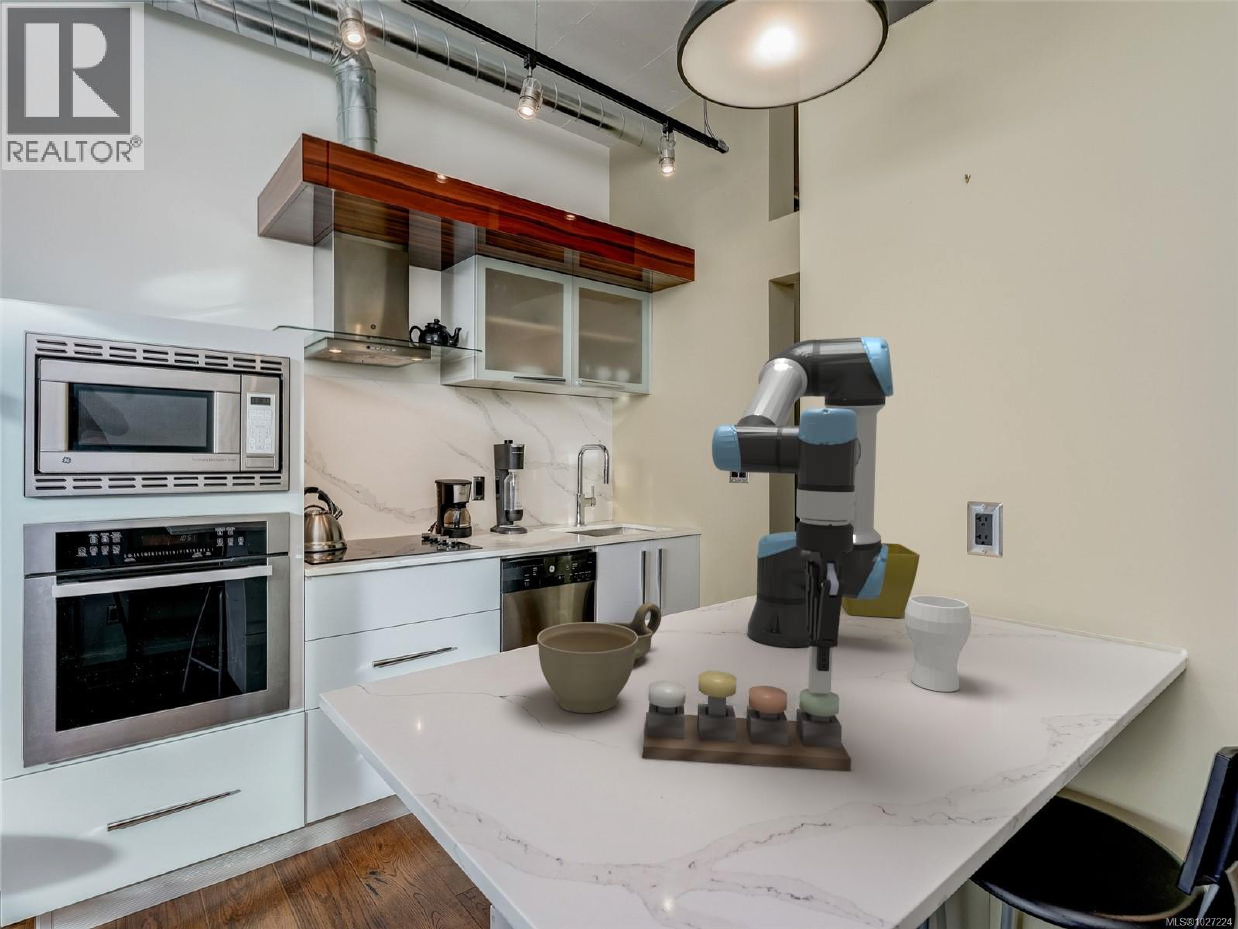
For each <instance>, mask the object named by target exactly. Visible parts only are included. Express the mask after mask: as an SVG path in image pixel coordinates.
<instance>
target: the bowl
mask: <svg viewBox="0 0 1238 929" xmlns="http://www.w3.org/2000/svg"><path fill="white" fill-rule="evenodd" d="M648 613H650V617H649V620H648V622H647V624H646V616H647V614H648ZM661 622H662V610H661V608H660V607H659V606H658V605H656V603H652V602H646V603H643V604H641V605H640V606H639V607H638V608H637V610H636V611H635V614H634V617H633V619H632V621H631V622H607V623H608V624H614V625H619V626H623V627H626V628H628V629H630V630H632V631H634V632H635V633H636V634H637V636H638V643H637V646H636V655H635V660H637V659H639V658H642V657H644V656H645V655H647V654H648V653H649V652H650V649H651V646H652V638H653V637H654V634H655V633H656V632H657V631H658V630H659V627H660V626H661Z"/></svg>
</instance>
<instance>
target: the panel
mask: <svg viewBox="0 0 1238 929" xmlns="http://www.w3.org/2000/svg"><path fill="white" fill-rule="evenodd" d="M707 706H708V703H700V702H699V703H698V702H697V714H685V703H684V704H683V705H681V706H678V707H675V713H659V712H658V706H656V705H654V704H652V703H650V702H648V712H645V723H644V731H643V732H644V733H643V743H642V758H645V759H647V758H648V759H661V760H678V761H691V762H692V761H693V762H694V761H695V762H710V763H721V764H723V763H726V764H742V765H755V766H771V767H772V766H773V767H785V768H786V767H787V768H790V767H791V768H802V769H803V768H805V769H819V770H836V771H852V759H851V758H852V757H850V755H849V753H848V751H847V750H846V748H845V747H844V745H843V742H842V737H843V736H842V733H843V732H842V731H843V725H842V724H841V723H840V720H839V719H838V718H837V716H836V715H833V716H830V722H816V721H809V719H808V713H807V712H805V711H803V710H802V709H801V708H796V714H795V715H796V716H795V717H796V719H795V720H788V719H787V718H788V717H787V715H786V713H785V711H784V712H781V713H778V715H777V719H763V718H758V717H757V710H754V709H752V708H751V707H750V706H749V705H747V706H746V717H736V713H735V708H734V705H733V704H726V716H711V715H708V712H707Z"/></svg>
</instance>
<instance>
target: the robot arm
mask: <svg viewBox="0 0 1238 929" xmlns="http://www.w3.org/2000/svg"><path fill="white" fill-rule="evenodd" d="M890 354H891V353H890V348H889V343H888V342H887V340H886V339H884V338H882V337H874V336H873V337H871V336H869V337H868V336H860V337H845V338H844V337H843V338H841V337H840V338H826V339H825V338H824V339H823V338H822V339H806V340H802V341H798V342H796V343H793V344H791V345H789V346H787V347H785V348H783V349H782V350H780V351H778V352H776V353H775V354H774V355H772V356H771V357H770V358H769V359H768V360H767V361H766V362H765V364H764V365H763V367H761V369H760V372H759V375H758V381H757V382H758V386H757V388H756V390H755V391H754V393H753V394H752V396H751V399H750V401H749V402H748V404H747V406H746V408H745V409H744V411H743V413H742V415H741V417H740V419H739V420H738V421H737V424H733V423H730V424H724V425H722V424H721V425H719V426H717V427H716V428H715V430H714V432H713V434H712V442H711V455H712V456H711V457H712V461H713V465H714V467H716V469H718V470H719V471H723V472H724V471H725V472H733V473H734V472H736V473H737V474H740V473H759V474H760V473H761V474H787V475H798V478H797V481H798V483H797V488H796V517H797V518H798V519H800V520H799V521H797V523H796V527H795V528H796V529H795V531H787V532H786V531H785V532H775V533H770V534H766V535H764V536H761V538H760V539H759V540H758V547H757V555H756V558H757V560H756V561H757V566H756V567H757V568H756V569H757V570H756V571H757V572H756V601H755V603H754V607H753V609H752V611H751V615H750V617H749V620H748V622H747V633H746V634H747V636H748V638H750V639H751V640H753V641H756V642H757V643H760V644H764V645H769V646H773V647H774V646H775V647H782V648H804V647H809V656H808V658H809V661H808V664H809V665H808V687H807V689H809V690H810V692H812V693H831V692H832V672H833V671H832V668H833V667H832V665H833V648H837V647H838V642H839V641H838V639H839V638H838V637H839V632H840V631H839V629H840V620H841V613H842V612H841V609H842V605H841V602H842V597H847V598H855V599H876V598H877V597H878V596H879V595H880V593H881V589H882V584H883V579H884V574H885V568H886V561H887V556H888V546H887V545H885V544H881V543H882V536H881V534H880V533H879V532H878V531H877V530H876V529H875V528H874V527H875V519H874V518H875V498H876V497H875V496H876V495H875V494H876V493H875V490H876V489H875V488H876V461H877V460H876V459H877V458H876V457H877V455H876V453H877V423H878V422H877V421H878V413H879V412H880V411H881V410H882V409H883V408H884V407H885V406H886V399H887V398H890V397H892V396H893V395H894V385H893V384H894V382H893V372H892V364H891V356H890ZM804 397H814V398H815V397H816V398H817V397H823V398H824V407H825V408H823V407H821V408H808V409H805V410H803V411H801V413H800V417H799V425H786V424H787V422H788V421H789V418H790V415H791V413H792V411H793V408H794V405H795V403H796V401H798V400H799V399H801V398H804ZM886 397H887V398H886Z"/></svg>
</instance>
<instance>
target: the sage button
mask: <svg viewBox="0 0 1238 929" xmlns="http://www.w3.org/2000/svg"><path fill="white" fill-rule="evenodd" d="M798 702H799V705H798V706H799V709H802V710H803V711H805V712H807V713H808V719H809V721H816V722H830V716H833V715H835V716H836V715H838V714H839V712H840V710H839V709H840V697H839V695H838V694H836V693H835V692H832V691H831V693H812V692H810V690H809V688H803V689H802V690H800V691H799V701H798Z"/></svg>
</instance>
